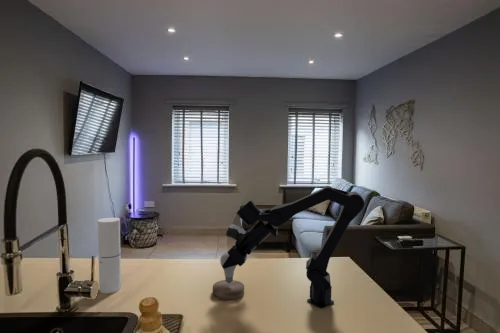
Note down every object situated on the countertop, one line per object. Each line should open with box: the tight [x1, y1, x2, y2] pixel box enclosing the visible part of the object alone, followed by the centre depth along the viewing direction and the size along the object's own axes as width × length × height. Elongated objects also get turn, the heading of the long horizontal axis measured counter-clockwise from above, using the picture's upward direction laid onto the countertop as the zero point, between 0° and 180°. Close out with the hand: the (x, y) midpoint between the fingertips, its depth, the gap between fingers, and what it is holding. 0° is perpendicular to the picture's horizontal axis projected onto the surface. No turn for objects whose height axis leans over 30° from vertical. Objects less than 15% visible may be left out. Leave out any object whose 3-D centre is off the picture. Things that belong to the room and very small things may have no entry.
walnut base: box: [212, 279, 245, 301], centre depth 122 cm, size 11×11×2 cm
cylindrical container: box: [97, 216, 122, 294], centre depth 123 cm, size 7×7×25 cm
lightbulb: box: [219, 251, 238, 283], centre depth 122 cm, size 6×6×11 cm
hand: (225, 264), depth 122 cm, fingers closed on lightbulb, 6 cm apart
